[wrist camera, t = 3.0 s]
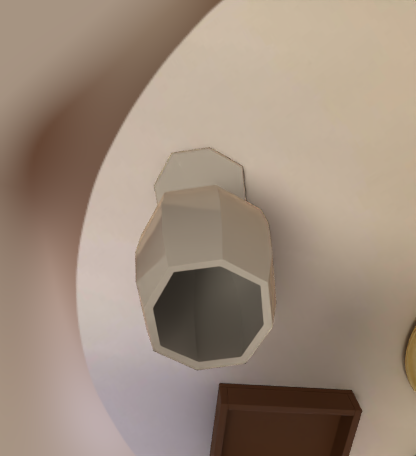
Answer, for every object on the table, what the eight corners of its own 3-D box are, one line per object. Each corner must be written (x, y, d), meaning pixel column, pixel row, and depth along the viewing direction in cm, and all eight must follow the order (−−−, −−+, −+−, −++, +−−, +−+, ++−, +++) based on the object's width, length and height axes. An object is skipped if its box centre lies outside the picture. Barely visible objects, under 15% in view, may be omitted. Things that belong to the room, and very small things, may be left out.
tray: (207, 469, 50) (208, 493, 47) (219, 382, 45) (221, 403, 42) (328, 473, 51) (336, 497, 48) (351, 390, 46) (362, 410, 43)
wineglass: (235, 242, 39) (278, 405, 20) (147, 227, 38) (100, 382, 19) (256, 155, 36) (331, 244, 17) (161, 137, 35) (122, 208, 16)
